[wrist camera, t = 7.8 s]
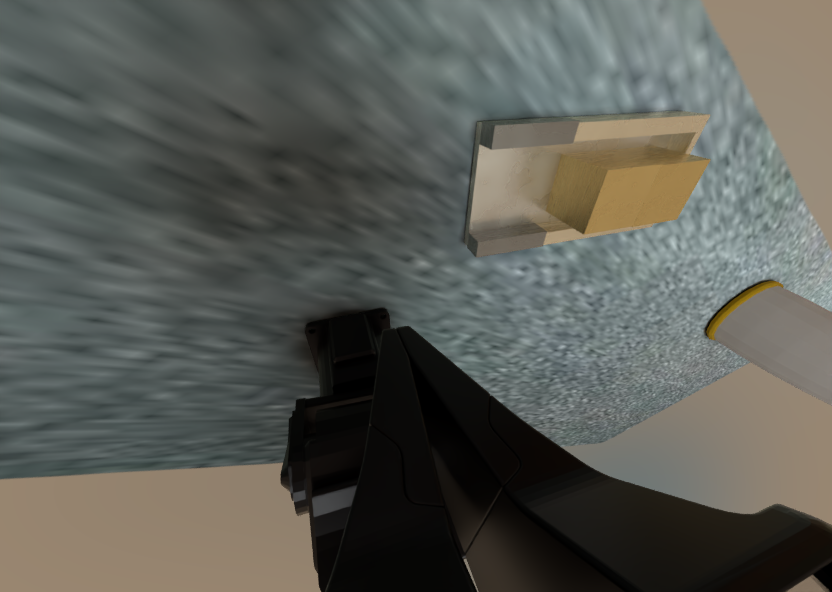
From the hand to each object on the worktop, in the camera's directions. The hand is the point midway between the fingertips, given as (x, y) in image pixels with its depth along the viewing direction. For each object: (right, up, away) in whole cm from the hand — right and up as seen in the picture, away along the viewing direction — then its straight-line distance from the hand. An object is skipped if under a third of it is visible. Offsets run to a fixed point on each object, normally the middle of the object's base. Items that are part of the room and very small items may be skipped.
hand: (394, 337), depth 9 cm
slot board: (+12, +10, +13) cm, 20 cm away
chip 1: (+12, +10, +12) cm, 20 cm away
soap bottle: (+50, -1, +36) cm, 62 cm away
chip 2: (+16, +10, +13) cm, 23 cm away
